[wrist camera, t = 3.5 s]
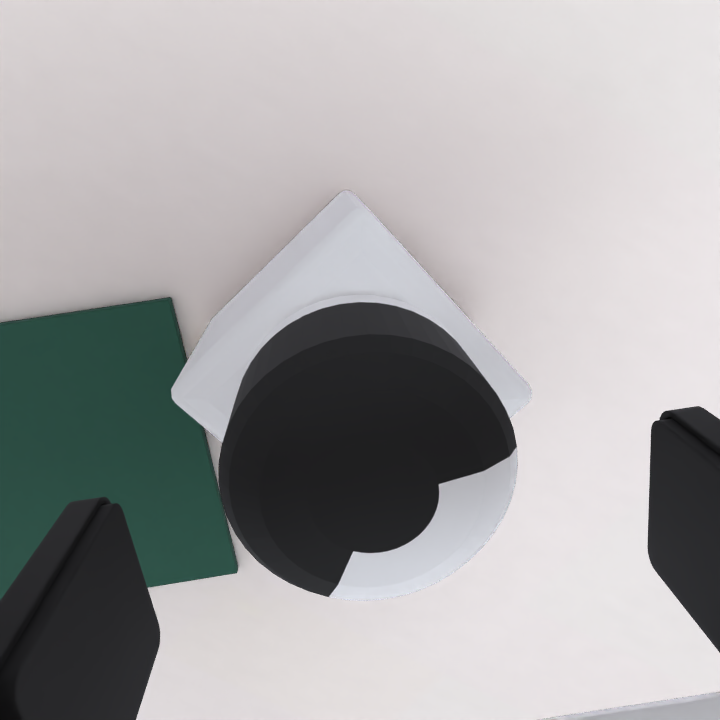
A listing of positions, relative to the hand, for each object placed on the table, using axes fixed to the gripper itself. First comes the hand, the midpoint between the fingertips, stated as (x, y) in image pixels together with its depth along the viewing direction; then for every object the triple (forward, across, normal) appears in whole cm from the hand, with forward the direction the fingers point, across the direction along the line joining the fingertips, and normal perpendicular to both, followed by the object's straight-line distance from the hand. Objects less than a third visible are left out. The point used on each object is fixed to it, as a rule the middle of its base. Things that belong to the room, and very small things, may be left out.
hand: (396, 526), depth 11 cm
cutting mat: (+13, +13, +4) cm, 19 cm away
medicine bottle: (+13, 0, 0) cm, 13 cm away
